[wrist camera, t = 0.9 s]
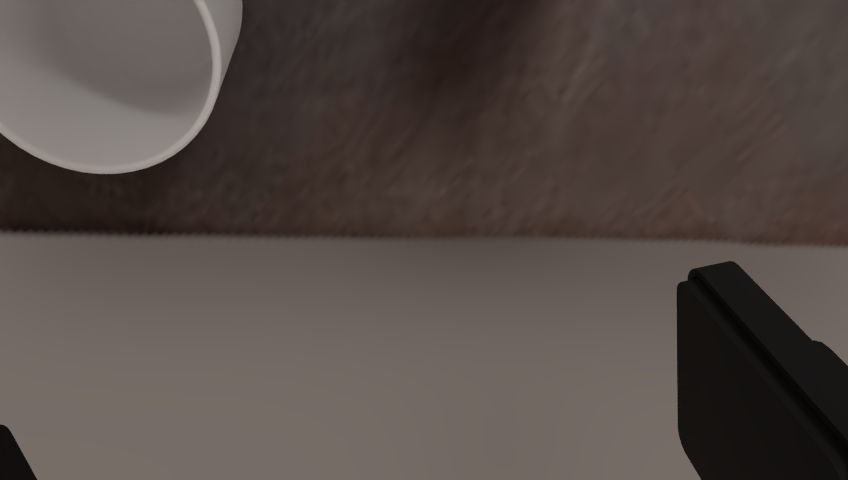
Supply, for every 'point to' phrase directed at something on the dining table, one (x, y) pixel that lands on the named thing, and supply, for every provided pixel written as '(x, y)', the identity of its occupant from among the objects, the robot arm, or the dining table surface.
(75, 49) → the mug
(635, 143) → the dining table surface
